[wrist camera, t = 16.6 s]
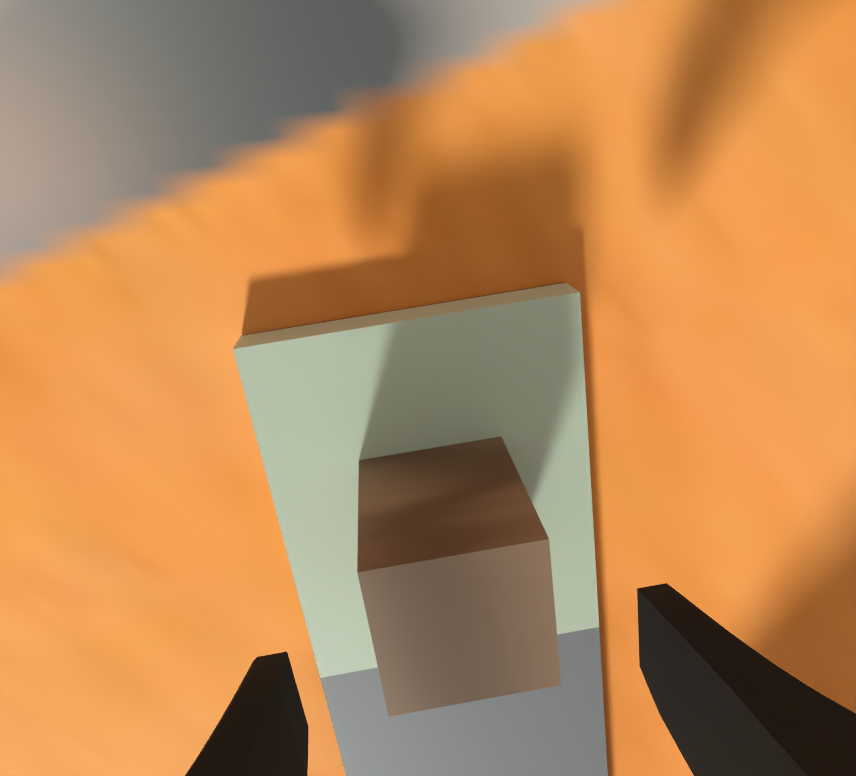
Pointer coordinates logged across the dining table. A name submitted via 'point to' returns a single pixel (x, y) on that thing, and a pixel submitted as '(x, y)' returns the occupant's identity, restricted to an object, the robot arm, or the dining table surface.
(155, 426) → the dining table surface
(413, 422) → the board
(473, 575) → the brown wooden block
